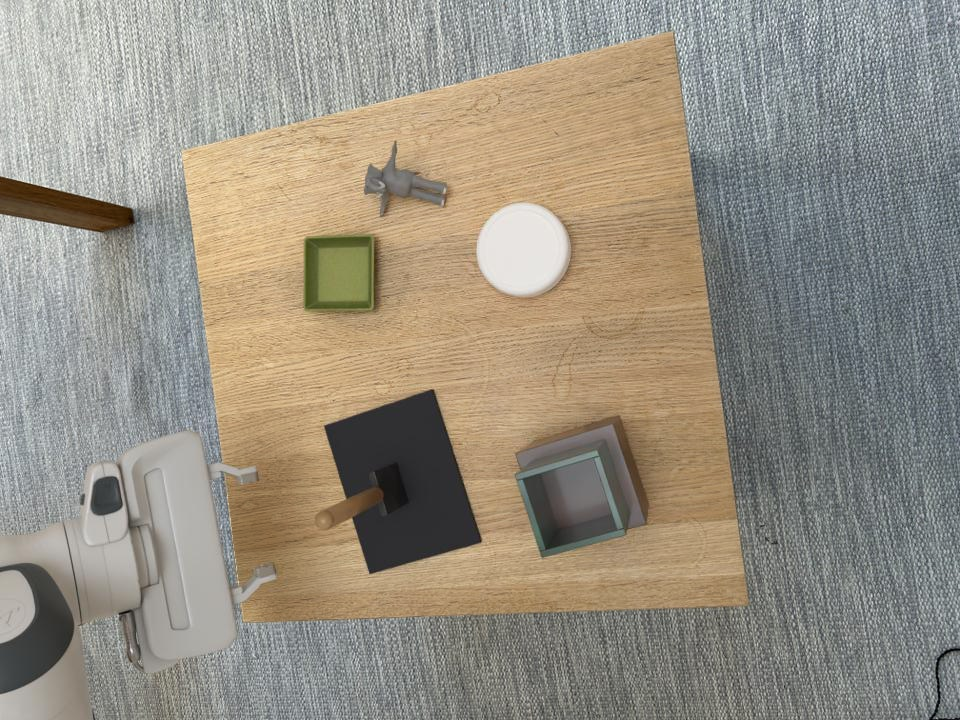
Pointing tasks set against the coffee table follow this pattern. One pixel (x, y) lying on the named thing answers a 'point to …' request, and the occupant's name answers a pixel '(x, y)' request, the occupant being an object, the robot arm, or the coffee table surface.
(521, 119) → the coffee table surface
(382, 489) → the spatula
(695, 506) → the coffee table surface
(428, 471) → the mat
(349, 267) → the green square dish
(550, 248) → the white round tub
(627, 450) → the open box
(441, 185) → the elephant figurine
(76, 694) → the robot arm
